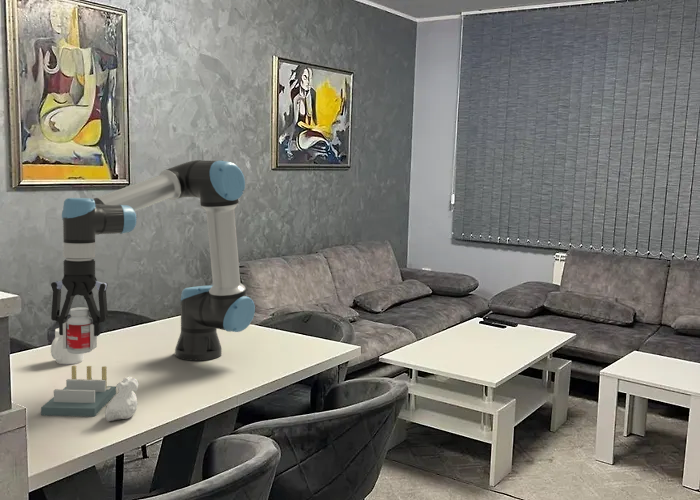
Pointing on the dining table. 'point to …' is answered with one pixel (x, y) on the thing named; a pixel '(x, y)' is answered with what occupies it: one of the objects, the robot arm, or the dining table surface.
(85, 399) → the board
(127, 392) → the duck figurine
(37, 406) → the dining table surface
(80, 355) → the mug
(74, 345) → the pill bottle
